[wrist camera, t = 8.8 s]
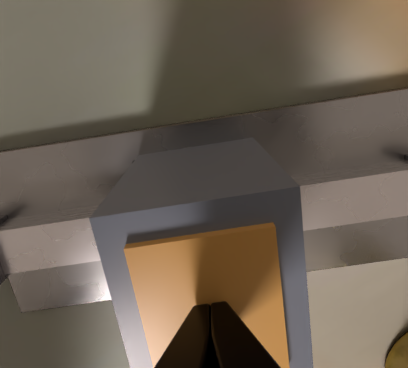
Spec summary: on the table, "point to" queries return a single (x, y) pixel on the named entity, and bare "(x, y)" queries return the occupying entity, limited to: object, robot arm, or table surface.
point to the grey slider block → (206, 248)
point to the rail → (203, 135)
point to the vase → (398, 354)
